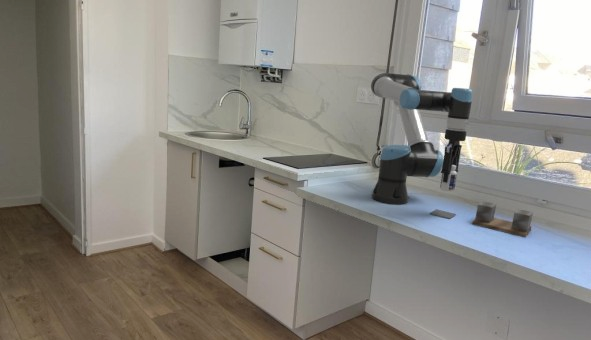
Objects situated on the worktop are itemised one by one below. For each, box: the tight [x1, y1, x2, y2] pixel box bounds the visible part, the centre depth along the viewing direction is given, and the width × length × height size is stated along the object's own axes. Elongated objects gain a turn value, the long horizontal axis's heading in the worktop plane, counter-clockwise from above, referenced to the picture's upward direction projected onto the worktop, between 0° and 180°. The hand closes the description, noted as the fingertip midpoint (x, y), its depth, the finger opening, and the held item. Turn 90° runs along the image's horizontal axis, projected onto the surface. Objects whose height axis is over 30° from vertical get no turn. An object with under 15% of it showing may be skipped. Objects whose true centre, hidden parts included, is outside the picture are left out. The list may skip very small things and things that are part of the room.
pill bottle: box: [439, 165, 458, 192], centre depth 168 cm, size 5×5×10 cm
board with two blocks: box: [472, 200, 534, 238], centre depth 161 cm, size 18×12×7 cm, turn 54°
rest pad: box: [429, 208, 457, 220], centre depth 171 cm, size 8×8×1 cm
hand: (446, 189), depth 169 cm, fingers closed on pill bottle, 5 cm apart
